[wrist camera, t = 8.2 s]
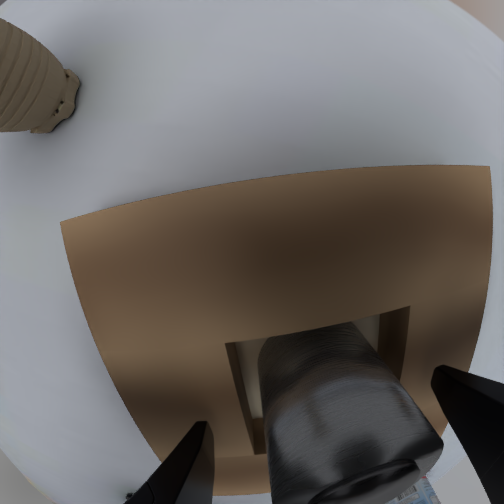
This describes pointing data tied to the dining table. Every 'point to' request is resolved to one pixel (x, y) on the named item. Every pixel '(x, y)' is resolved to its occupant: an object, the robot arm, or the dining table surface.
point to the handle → (32, 84)
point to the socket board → (279, 291)
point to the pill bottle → (417, 494)
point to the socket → (339, 421)
